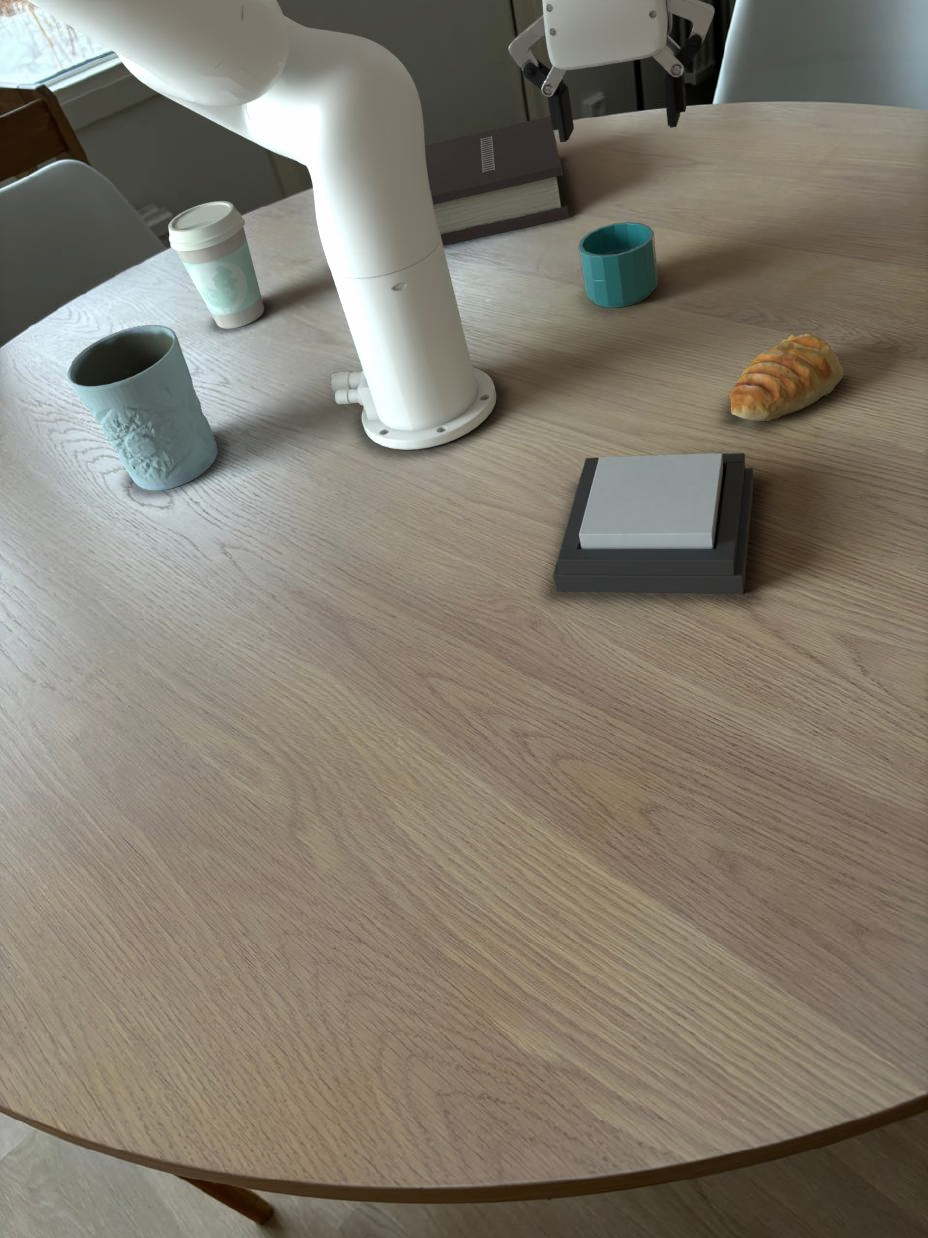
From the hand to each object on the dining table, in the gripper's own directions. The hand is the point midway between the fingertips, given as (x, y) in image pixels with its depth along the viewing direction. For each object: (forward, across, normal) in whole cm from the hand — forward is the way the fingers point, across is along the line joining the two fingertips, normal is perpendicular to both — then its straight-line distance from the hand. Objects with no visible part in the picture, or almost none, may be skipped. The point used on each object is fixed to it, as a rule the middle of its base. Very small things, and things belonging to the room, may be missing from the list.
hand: (619, 128), depth 90 cm
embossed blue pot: (+16, +40, +27) cm, 51 cm away
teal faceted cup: (+16, +2, -1) cm, 16 cm away
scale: (+16, -7, +37) cm, 41 cm away
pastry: (+16, -15, +19) cm, 29 cm away
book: (+16, +27, -25) cm, 41 cm away
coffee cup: (+16, +47, -2) cm, 49 cm away
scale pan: (+13, -7, +37) cm, 40 cm away
